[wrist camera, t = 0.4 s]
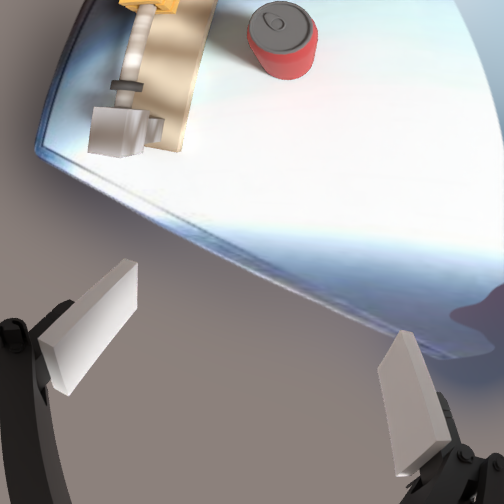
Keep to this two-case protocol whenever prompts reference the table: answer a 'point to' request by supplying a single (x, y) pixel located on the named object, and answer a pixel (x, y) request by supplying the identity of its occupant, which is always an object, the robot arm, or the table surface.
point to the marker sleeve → (165, 3)
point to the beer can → (283, 39)
